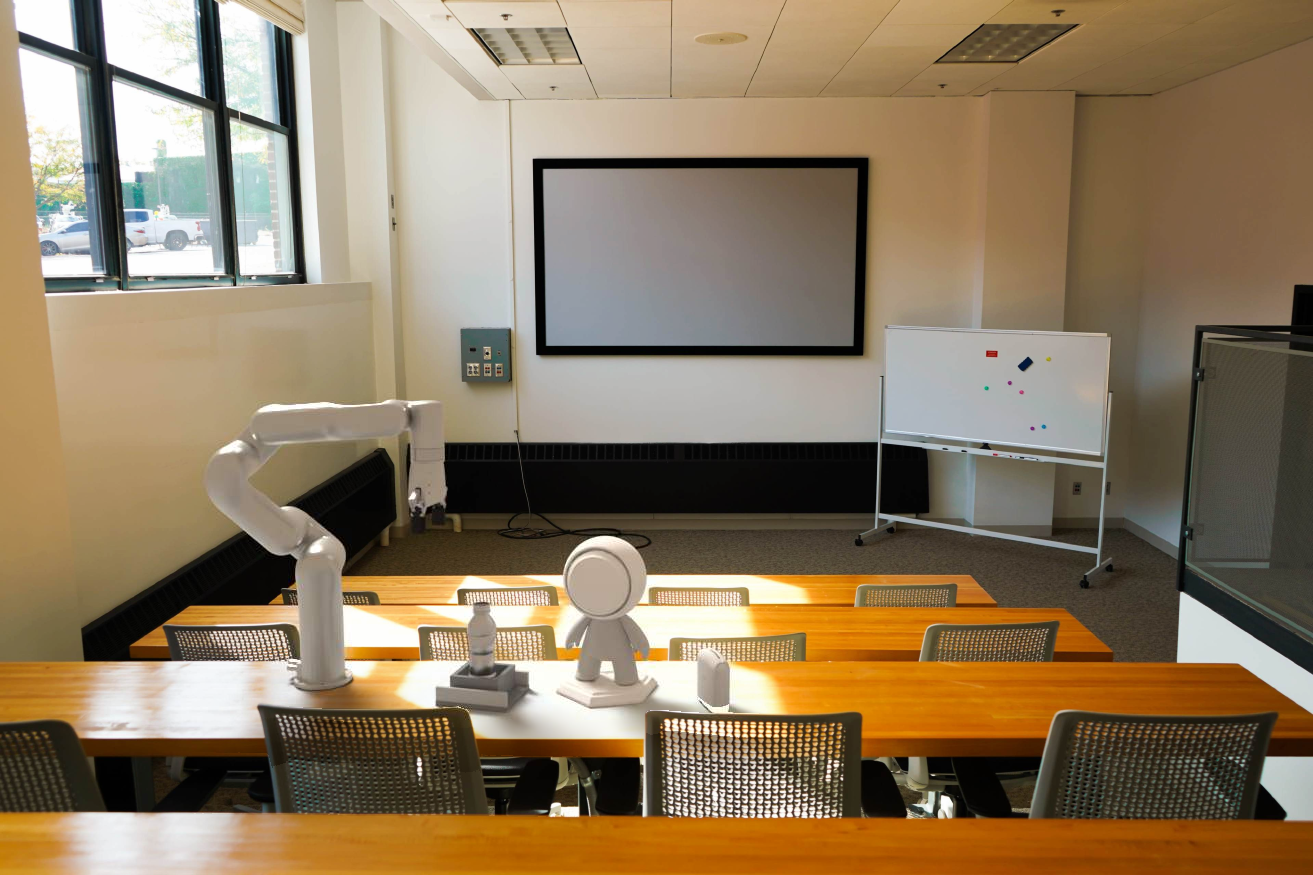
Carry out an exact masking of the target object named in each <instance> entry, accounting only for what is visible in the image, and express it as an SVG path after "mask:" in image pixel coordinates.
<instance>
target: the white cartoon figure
mask: <svg viewBox="0 0 1313 875" xmlns="http://www.w3.org/2000/svg"><path fill="white" fill-rule="evenodd" d="M563 568H564V569H563V573H562V581H563V582H562V584H563V588H564V592H565V594H566V597H567V599H568V601H569V602H570V604H571V605H572V607H574V609H576V610H577V611H578V612H579V613H580V614H582V615H581V616H580V618H578V619H577V620H576V621H575V623H573V625H572V626H571V627H570V629H569V631H568V632H567V635H566V637H565V642H564V646H565V650H566V651H567V652H569V651H571V649H573V648H574V647H576V648H579V646H580V643H581V641H582V638H583V636H584V639H583V642H582V644H581V648H580V652H579V656H578V662H577V667H576V670H575V671H574V672H573V673H571V674H570V675H569V676H568V677H567V678H566V679H565V680H564V681H563V682H561V683H560V685H559V686H558V687H557V688H556V692H555V693H556V694H559V695H560V696H562V695H563V697H564V698H567V699H570V700H571V701H574V702H575V703H578V704H581V705H583V706H585V707H587V708H589V709H591V708H601V707H602V708H603V707H612V706H613V707H614V706H615V705H616V706H624V705H637V704H639V705H640V704H643V702H644V701H646V699H647V698H648V697H649V695H650V694H651V692H652V691H653V690H654V689H655V687H657V685H658V681H657V680H656V679H655V678H654V677H653V676H651V675H648V674H646V673H643V672H642V671H641V672H640V671H638V668H637V662H636V658H635V654H638V653H639V654H640V655H641V659H642V660H646V659H647V658H649V656H650V654H651V646H650V643H649V642H650V641H649V640H648V637H647V636H646V634H645V633H644V631H643V630H642V629H641V627H640V626H639V624H638V623H637V622H636V621H635V620H634V619H633V618H632V617H631V616H630V615H628V614H629V613H630V612H631V611H632V610H633V609H634V608H635V607H637V605H638V604H639V602H640V601H641V600H642V597H643V596H644V593H645V591H646V588H647V587H646V586H647V578H648V576H647V575H648V574H647V568H646V564H645V562H644V560H643V558H642V556H641V554H640V553H639V551H638V550H637V549H636V548H635V547H634V546H633V545H632V544H631V543H629V542H628V541H626V540H624V539H622V538H619V537H616V536H609V535H600V536H595V537H591V538H589V539H587V540H585V541H583V542H582V543H580V544H579V545H577V546H576V547H575V549H574V550H573V551H572V552H571V553H570V554H569V556H568V557H567V560H566V562H565V565H564V567H563ZM603 661H608V662H609V661H611V665H610V664H609V665H602V662H603Z"/></svg>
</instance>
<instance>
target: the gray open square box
mask: <svg viewBox="0 0 1313 875" xmlns="http://www.w3.org/2000/svg"><path fill="white" fill-rule="evenodd" d="M469 667H470V659H469V660H468V661H466V662H465V663H464V664H462V665H461V666H460V667H459V668H458V669H457V670H455V671H454V672H453V673H452V674H450V676H449V686H445V685H436V686H435V706H437V707H438V706H439V707H448V706H459V707H465V708H464V709H468V710H469V709H470V710H479V711H489V712H500V713H507V712H508V711H509V710H510V709H511V708H512V707H513V706H514V705H515V703H517V702H518V700H520V698H522V696H523V695H525V693H526V692H527V691H528V690H529V689H530V672H529V670H519V669H518V670H517V669H516V664H512V663H504V662H495V668H496V673H497V677H496V678H486V677H475V676H468V675H469Z"/></svg>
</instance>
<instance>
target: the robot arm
mask: <svg viewBox="0 0 1313 875" xmlns="http://www.w3.org/2000/svg"><path fill="white" fill-rule="evenodd" d="M444 410H445V409H444V405H443V402H441V401H438V400H433V399H432V400H430V399H429V400H426V399H425V400H415V401H411V400H410V401H409V400H403V399H394V398H393V399H392V398H391V399H388V400H384V401H383V402H381V403H374V404H373V403H372V404H371V403H370V404H357V405H356V404H355V405H343V404H335V403H332V402H315V403H305V404H303V403H302V404H291V405H290V404H289V405H288V404H287V405H285V404H279V403H273V404H268V405H266V406H263V407H261V408H259V409H257V410H256V411H255V412H254V413H253V415H252V416H251V417H250V420H249V424H248V425H247V426H246V427H245V428H244V429H243V430H242V431H241V432H240V433H239V434H238V435H237V436H236V437H235V438H234V439H233V440H232V441H231V442H230V443H229V444H227V445H225V446H223V447H221V448H219V449H218V450H217V451H215V452H214V453H213V455H212V456H211V457H210V458H209V461H208V463H207V466H206V469H205V474H204V486H205V487H204V488H205V491H206V493H207V496H208V497H209V499H210V501H211V502H212V504H213V505H214V506H215V507H216V508H217V509H218V510H219V511H220V512H222V514H224V515H225V516H226V517H228V519H229V520H231V521H232V522H233V523H235V524H236V525H237V526H238V527H239V528H241V529H242V530H243V531H244V532H246V533H247V534H248V535H249V536H250V537H251V538H252V539H254V540H255V541H257V542H258V543H259V544H260V545H261V546H263V548H265V549H266V550H267V551H268V552H270V553H271V554H274V555H276V556H286V555H291V556H292V557H294V559H296V560H297V561H296V563H295V564H296V565H295V572H294V573H295V575H294V576H295V584H296V590H297V591H296V594H297V604H298V605H297V606H298V607H297V609H298V610H297V611H298V625H299V653H300V656H299V658H300V659H296V658H295V659H294V658H291V659H290V658H289V660H288V662H287V665H286V671H290V672H295V673H296V675H295V676H294V678H293V684H294V686H295V687H296V688H299V689H301V690H304V691H305V690H306V691H324V690H330V689H335V688H338V687H339V688H340V687H342V686H344V685H346V684H348V683H349V682H350V681H351V680H352V679H353V671H352V670H351V669H350V668H347V667H346V659H345V657H346V656H345V654H346V653H345V652H346V651H345V628H344V626H345V624H344V600H343V585H342V583H343V582H342V570H343V567H344V566H345V563H346V560H347V559H346V557H347V556H346V554H347V552H346V549H345V546H344V545H343V543H342V542H341V541H340V540H339V539H338V538H336V536H335V535H333V534H332V533H331V532H330V531H328V530H327V529H326V528H325V527H324V526H322V524H320V523H318V522H317V520H315V519H314V518H313V517H312V516H310V515H309V514H308V513H307V512H305V511H304V510H301V509H300V508H298V507H296V506H287V505H285V506H282V507H280V506H279V505H278V504H276V503H275V502H273V501H272V500H271V499H270V498H269V497H268V496H267V495H266V494H264V493H263V492H261V491H260V490H258V489H256V488H255V487H254V486H252V484H251V483H250V482H249V478H251V476H253V475H254V474H256V473H257V472H258V471H259V470H260V469H261V468H262V466H264V464H265V463H267V461H268V460H269V459H270V458H271V457H272V456H273V455H275V454H276V452H278V450H279V449H280V448H282V446H283V445H291V444H293V445H294V444H299V443H301V444H302V443H303V444H304V443H314V442H315V443H316V442H338V441H352V440H354V441H356V440H370V439H381V438H383V439H384V438H391V437H392V438H393V437H395V436H396V437H397V436H398V435H401V433H403V432H404V431H409V440H410V444H409V446H410V447H409V448H410V467H409V476H408V497H407V498H408V500H407V501H408V505H409V511H410V516H411V528H412V529H411V531H412V534H415V535H426V534H427V516H425V514H426V511H427V508H428V507H431V506H432V507H431V524H432V526H445V525H446V523H447V522H446V508H447V507H446V506H447V503H446V502H447V497H448V496H447V491H448V487H447V486H446V473H445V464H444V462H445V460H446V459H445V458H446V457H445V456H446V455H445V413H444V412H445V411H444Z"/></svg>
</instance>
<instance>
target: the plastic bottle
mask: <svg viewBox="0 0 1313 875" xmlns="http://www.w3.org/2000/svg"><path fill="white" fill-rule="evenodd" d="M472 613H473V616H472V617H471V618H470V620H469V621H468V623H467V627H466V633H467V639H468V640H467V641H468V646H469V647H468V648H469V660H470V667H469V675H468V676H475V677H486V678H496V677H497V673H496V668H495V663H496V660H495V658H496V657H495V646H496V644H495V643H496V637H497V624H496V622H495V620H494V618H493V617H492V616H491V615H490V613H491V603H490V602H488V601H476V602H474V603H473V605H472Z"/></svg>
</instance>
